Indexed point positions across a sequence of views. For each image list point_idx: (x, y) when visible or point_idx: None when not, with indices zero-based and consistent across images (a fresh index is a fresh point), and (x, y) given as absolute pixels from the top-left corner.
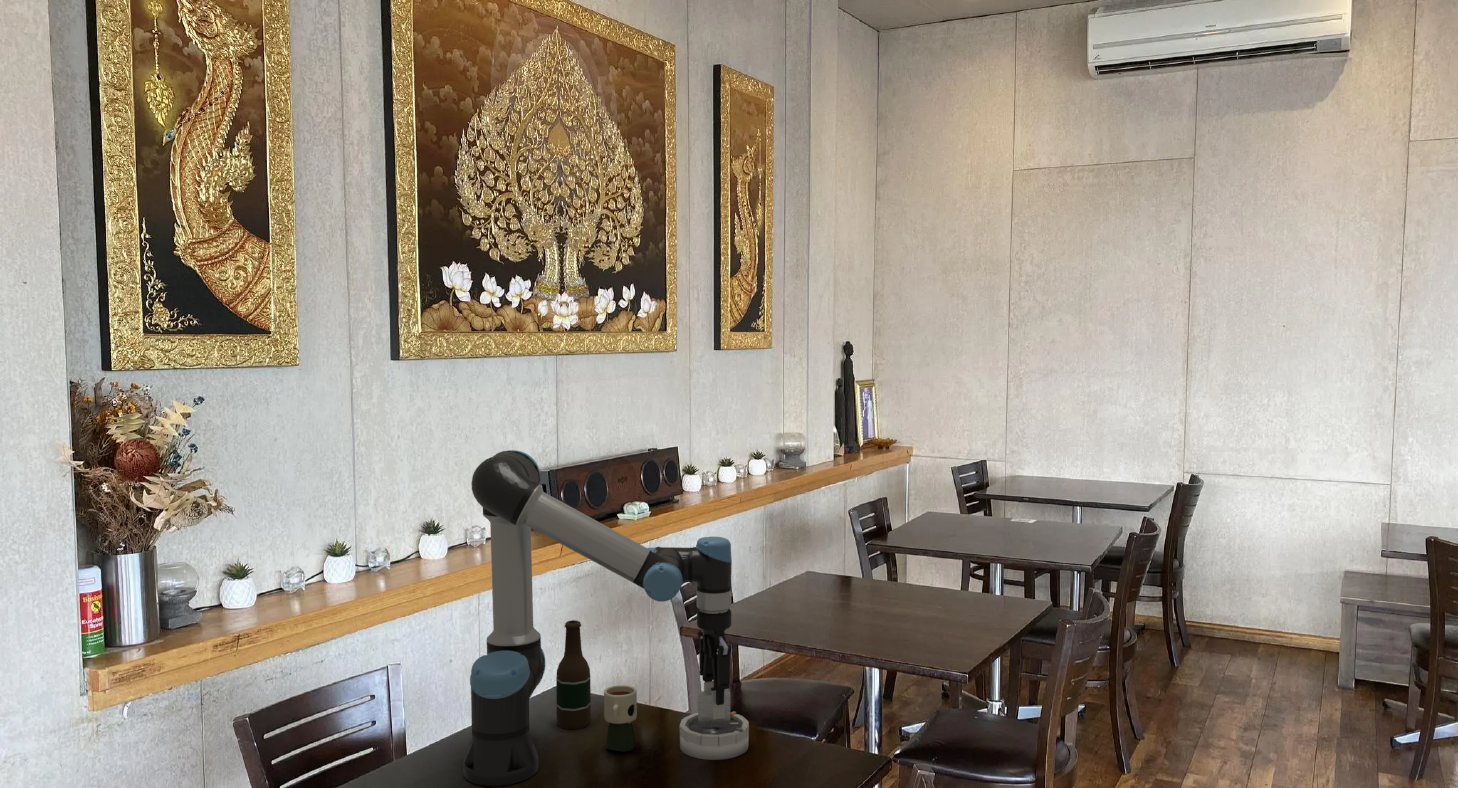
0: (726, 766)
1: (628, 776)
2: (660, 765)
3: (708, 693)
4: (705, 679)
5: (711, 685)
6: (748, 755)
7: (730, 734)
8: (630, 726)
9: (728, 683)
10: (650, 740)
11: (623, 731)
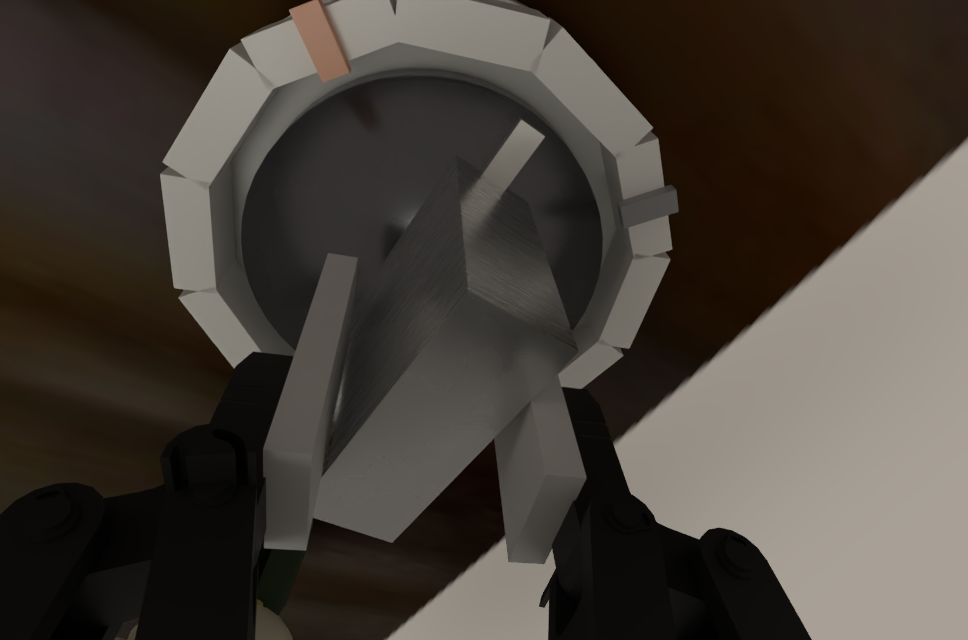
0: (671, 286)
1: (492, 548)
2: (479, 463)
3: (401, 476)
4: (256, 563)
5: (317, 467)
6: (660, 120)
7: (649, 284)
8: (266, 585)
9: (786, 614)
10: (212, 405)
11: (288, 596)
